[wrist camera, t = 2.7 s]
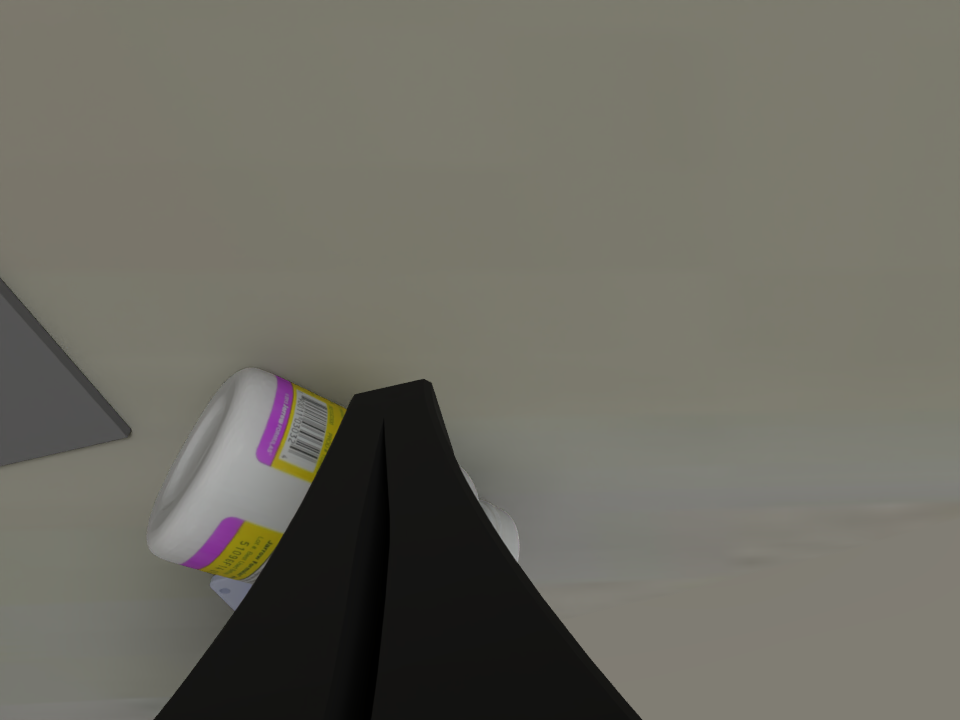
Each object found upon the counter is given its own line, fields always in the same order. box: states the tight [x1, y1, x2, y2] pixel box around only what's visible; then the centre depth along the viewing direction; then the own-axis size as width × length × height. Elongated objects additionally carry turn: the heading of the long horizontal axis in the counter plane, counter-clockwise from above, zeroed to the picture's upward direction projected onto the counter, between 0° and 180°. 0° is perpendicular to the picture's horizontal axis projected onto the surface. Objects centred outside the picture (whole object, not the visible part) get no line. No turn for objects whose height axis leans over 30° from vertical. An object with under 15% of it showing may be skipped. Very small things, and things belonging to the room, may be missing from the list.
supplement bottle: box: [147, 367, 519, 584], centre depth 21 cm, size 7×7×13 cm
